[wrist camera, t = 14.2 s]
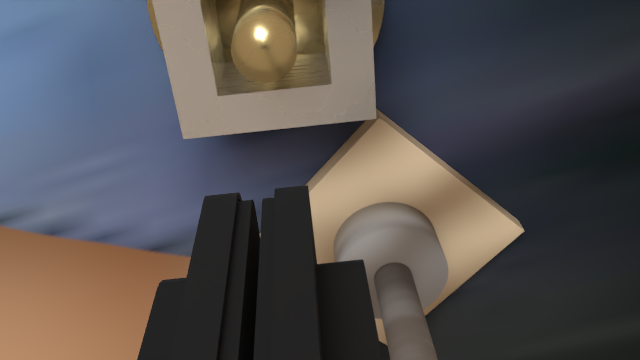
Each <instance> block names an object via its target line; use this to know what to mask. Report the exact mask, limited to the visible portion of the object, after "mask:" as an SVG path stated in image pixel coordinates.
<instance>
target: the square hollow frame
mask: <svg viewBox="0 0 640 360" xmlns="http://www.w3.org/2000/svg"><path fill="white" fill-rule="evenodd" d="M152 3H153V7H154V12H155V16H156V20H157V25H158V29H159V34H160V38H161V42H162V47H163V51H164V56H165V60H166V64H167V69H168V73H169V78H170V82H171V86H172V91H173V95H174V100H175V104H176V108H177V113H178V117H179V122H180V126H181V130H182V135H183V139H190V138H199V137H209V136H218V135H228V134H238V133H247V132H257V131H266V130H276V129H285V128H295V127H304V126H314V125H323V124H333V123H342V122H352V121H361V120H371V119H376V98H375V76H374V53H373V30H372V8H371V0H321V8H322V20H323V31H324V43H325V52H321V53H312V54H302V55H297V58H296V62H295V64H294V66H293V68H292V69H291V71H290V72H289V73H288V74H287V75H286V76H284V77H283V78H281V79H279V80H277V81H274V82H269V83H262V82H256V81H253V80H251V79H248V78H247V77H245V76H244V75H243V74H241V73H240V71H239V70H238V69H237V68H236V66H235V64H234V62H225V57H224V52H223V46H222V40H221V35H220V29H219V23H218V17H217V12H216V6H215V0H152Z"/></svg>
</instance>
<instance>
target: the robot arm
mask: <svg viewBox="0 0 640 360" xmlns="http://www.w3.org/2000/svg"><path fill="white" fill-rule="evenodd" d="M137 360H383V359H382V354H381V348H380V343H379V338H378V332H377V327H376V322H375V317H374V311H373V306H372V301H371V296H370V290H369V285H368V280H367V275H366V269H365V265H364V261H363V259H361V260H351V261H341V262H332V263H322V264H317V258H316V249H315V241H314V232H313V223H312V215H311V206H310V197H309V189H308V185H307V186H297V187H287V188H278V189H275V198H266V199H263V201H262V218H261V235H260V234H259V228H258V223H257V217H256V211H255V205H254V202H253V200H247V201H242V199H241V196H240V194H239V193H230V194H220V195H210V196H205V198H204V201H203V205H202V210H201V214H200V219H199V224H198V228H197V233H196V237H195V242H194V246H193V251H192V256H191V260H190V265H189V269H188V274H187V278H179V279H170V280H162V281H161V282H160V283H159V286H158V288H157V291H156V295H155V298H154V302H153V305H152V309H151V313H150V316H149V320H148V323H147V327H146V330H145V334H144V338H143V341H142V345H141V348H140V352H139V355H138V359H137Z"/></svg>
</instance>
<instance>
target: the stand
mask: <svg viewBox="0 0 640 360" xmlns="http://www.w3.org/2000/svg"><path fill="white" fill-rule="evenodd" d="M307 185H308V189H309V197H310V206H311V215H312V223H313V232H314V241H315V249H316V258H317V264H322V263H332V262H341V261H351V260H361V259H363V261H364V265H365V269H366V275H367V280H368V285H369V290H370V296H371V301H372V306H373V311H374V317H375V322H376V327H377V332H378V338H379V341H381V342H382V343H384V344H386V345H387V346H388V350H389V355H390V359H391V360H438V359H437V356H436V352H435V349H434V346H433V342H432V339H431V335H430V332H429V329H428V325H427V322H426V319H425V315H427V314H428V313H429V312H430V311H431V310H433V309H434V308H435V307H436V306H437V305H438V304H440V303H441V302H442V301H443V300H444V299H445V298H447V297H448V296H449V295H450V294H451V293H452V292H454V291H455V290H456V289H457V288H458V287H459V286H461V285H462V284H463V283H464V282H465V281H466V280H468V279H469V278H470V277H471V276H472V275H473V274H475V273H476V272H477V271H478V270H479V269H480V268H482V267H483V266H484V265H485V264H486V263H487V262H489V261H490V260H491V259H492V258H493V257H495V256H496V255H497V254H498V253H499V252H500V251H502V250H503V249H504V248H505V247H506V246H507V245H509V244H510V243H511V242H512V241H513V240H514V239H516V238H517V237H518V236H519V235H520V234H521V233H523V232H524V229H523V228H522V226H521V224H520V223H519V221H518V220H517V219H516V218H515V217H514V216H512V215H511V214H510V213H509V212H507V211H506V210H505V209H503V208H502V207H501V206H500V205H498V204H497V203H496V202H495V201H493V200H492V199H491V198H489V197H488V196H487V195H486V194H484V193H483V192H482V191H481V190H479V189H478V188H477V187H475V186H474V185H473V184H472V183H470V182H469V181H468V180H467V179H465V178H464V177H463V176H461V175H460V174H459V173H458V172H456V171H455V170H454V169H453V168H451V167H450V166H449V165H447V164H446V163H445V162H444V161H442V160H441V159H440V158H439V157H437V156H436V155H435V154H434V153H432V152H431V151H430V150H428V149H427V148H426V147H425V146H423V145H422V144H421V143H420V142H418V141H417V140H416V139H414V138H413V137H412V136H411V135H409V134H408V133H407V132H406V131H404V130H403V129H402V128H400V127H399V126H398V125H397V124H395V123H394V122H393V121H392V120H390V119H389V118H388V117H386V116H385V115H384V114H383V113H381V112H380V111H379V110H378V109H376V119H371V120H366V121H365V122H364V123H363V124H362V125H361V126H360V127H359V128H358V129H357V130H356V131H355V132H354V133H353V135H352V136H351V137H350V138H349V139H348V140H347V141H346V142H345V143H344V144H343V145H342V146H341V147H340V148H339V150H338V151H337V152H336V153H335V154H334V155H333V156H332V157H331V158H330V159H329V160H328V161H327V162H326V163H325V165H324V166H323V167H322V168H321V169H320V170H319V171H318V172H317V173H316V174H315V175H314V176H313V177H312V178H311V180H310V181H309V182H308V183H307V184H306V185H305V186H307ZM260 235H261V233H260Z"/></svg>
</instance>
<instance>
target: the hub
mask: <svg viewBox="0 0 640 360" xmlns="http://www.w3.org/2000/svg"><path fill="white" fill-rule="evenodd" d="M147 5H148V11H149V17H150V20H151V24H152V27H153V30H154V33H155V36H156V38H157V40H158V42H159V45H160V47H161V49H162V50H163V47H162V42H161V38H160V34H159V29H158V25H157V20H156V16H155V12H154V7H153V3H152V0H147ZM215 6H216V12H217V17H218V23H219V29H220V35H221V40H222V46H223V52H224V57H225V62H234V64H235V66H236V68H237V69H238V70H239V71H240V73H241V74H243V75H244V76H245V77H247V78H248V79H251V80H253V81H256V82H262V83H269V82H274V81H277V80H279V79H281V78H283V77H284V76H286V75H287V74H288V73H289V72H290V71H291V69H292V68H293V66H294V64H295V62H296V58H297V55H302V54H312V53H321V52H325V43H324V31H323V20H322V8H321V0H215ZM371 8H372V30H373V47H374V45H375V43H376V40H377V38H378V35H379V31H380V28H381V24H382V19H383V13H384V0H371ZM163 52H164V51H163Z"/></svg>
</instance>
